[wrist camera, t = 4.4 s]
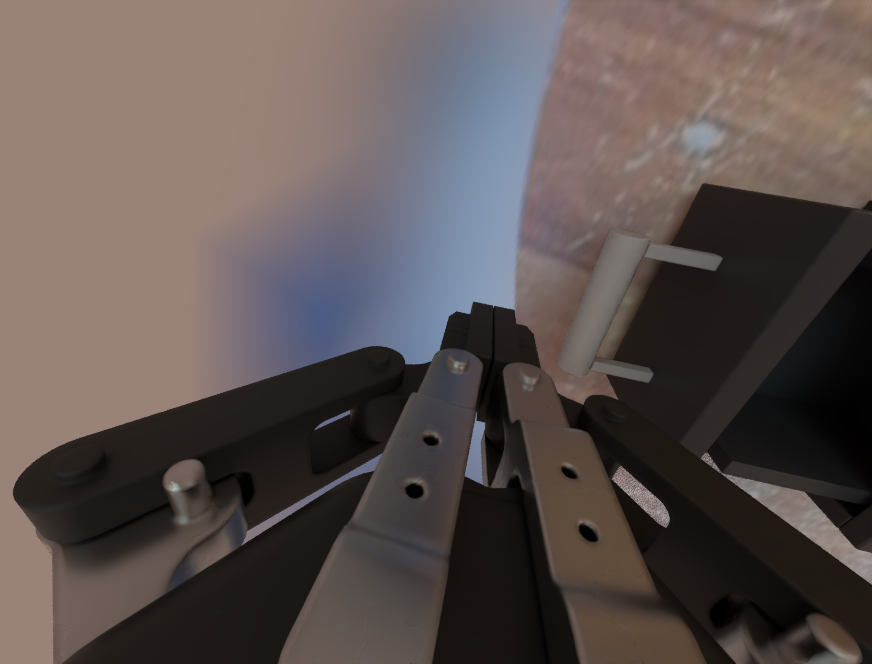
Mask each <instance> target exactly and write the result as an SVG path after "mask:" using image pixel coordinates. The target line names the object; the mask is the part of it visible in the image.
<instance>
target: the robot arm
mask: <svg viewBox="0 0 872 664" xmlns="http://www.w3.org/2000/svg"><path fill="white" fill-rule="evenodd" d="M536 349H537V348H536V344H535V339H534V334H533V333H532V332H531V331H530V330H529V328H528V327H527V326H524V325H519V324H516V318H515V310H512V309H507V308H502V307H497V306H494V308H493V306H492V305H487V304H482V303H478V302H473V304H472V309H471V313H470V314H466V313H461V312H455V313H454V314H452V315H451V316H449V319H448V322H447V326H446V329H445V333H444V337H443V340H442V344H441V347H440V351H438V352H437V353H436V354H435V355H434V357H433V359H432V361H431V362H428V363H425V364H415V365H413V364H411V365H410V364H409V365H408V364H405V360H404V358H403V356H402V355H401V354H400V353H399V352H397V351H395V350H393V349H391V348H387V347H382V346H371V347H366V348H362V349H359V350H356V351H353V352H350V353H346V354H344V355H340V356H337V357H334V358H331V359H328V360H324V361H321V362H318V363H315V364H312V365H309V366H306V367H303V368H299V369H296V370H293V371H290V372H287V373H283V374H281V375H277V376H274V377H271V378H268V379H264V380H261V381H259V382H255V383H252V384H249V385H246V386H242V387H239V388H236V389H233V390H230V391H227V392H223V393H220V394H217V395H214V396H211V397H208V398H205V399H201V400H198V401H195V402H192V403H189V404H186V405H182V406H180V407H176V408H173V409H170V410H167V411H164V412H161V413H157V414H154V415H151V416H148V417H145V418H142V419H138V420H135V421H132V422H129V423H126V424H123V425H119V426H116V427H113V428H110V429H107V430H104V431H101V432H98V433H94V434H91V435H88V436H85V437H82V438H79V439H76V440H73V441H70V442H68V443H66V444H63V445H61V446H59V447H57V448H55V449H53V450H51V451H50V452H48V453H46V454H45V455H43V456H41V457H40V458H39V459H37V460H36V461H35V462H33V463H32V464H31V465H30V466H29V467H28V468H26V469H25V471H24V472H23V473H22V474H21V475H20V477H19V478H18V480H17V481H16V483H15V486H14V489H13V496H14V499H15V501H16V502H17V503H18V505H19V506H20V508H21V509H22V510H23V511H24V513H25V514H26V515H27V517H28V518H29V519H30V521H31V522H32V523H33V525H34V526H35V527H36V533H37V537H38V538H39V539H40V540H41V542H42V543H43V544H44V546H45V547H46V548H47V549H48V551H49V552H50V553H51V555H52V563H53V656H54V657H53V658H54V659H53V660H54V664H872V585H871V584H870V583H869V582H867V581H866V580H865V579H863V578H862V577H860V576H859V575H858V574H856V573H855V572H854V571H852V570H851V569H850V568H848V567H847V566H845V565H844V564H843V563H841V562H840V561H839V560H837V559H836V558H835V557H833V556H832V555H831V554H829V553H828V552H826V551H825V550H824V549H822V548H821V547H820V546H818V545H817V544H816V543H814V542H813V541H812V540H810V539H809V538H807V537H806V536H805V535H803V534H802V533H801V532H799V531H798V530H797V529H795V528H794V527H792V526H791V525H790V524H788V523H787V522H786V521H784V520H783V519H782V518H780V517H779V516H778V515H776V514H775V513H773V512H772V511H771V510H769V509H768V508H767V507H765V506H764V505H763V504H761V503H760V502H758V501H757V500H756V499H754V498H753V497H752V496H750V495H749V494H748V493H746V492H745V491H744V490H742V489H741V488H739V487H738V486H737V485H735V484H734V483H733V482H731V481H730V480H729V479H727V478H726V477H724V476H723V475H722V474H720V473H719V472H718V471H716V470H715V469H714V468H712V467H711V466H710V465H708V464H707V463H705V462H704V461H703V460H701V459H700V458H699V457H697V456H696V455H695V454H693V453H692V452H691V451H689V450H688V449H686V448H685V447H684V446H682V445H681V444H680V443H678V442H677V441H676V440H674V439H673V438H671V437H670V436H669V435H667V434H666V433H665V432H663V431H662V430H661V429H659V428H658V427H657V426H655V425H654V424H652V423H651V422H650V421H648V420H647V419H646V418H644V417H643V416H642V415H640V414H639V413H637V412H636V411H635V410H633V409H632V408H631V407H629V406H628V405H626V404H625V403H623V402H621V401H619V400H617V399H615V398H612V397H609V396H605V395H592V396H589V397H588V398H587V399H586V400H585V402H584V404H583V405H582V404H580V403H578V402H575V401H573V400H571V399H568V398H566V397H564V396H562V395H560V394H558V393H557V390H556V388H555V385H554V382H553V380H552V378H551V377H550V376H549V375H548V374H547V373H546V372H545V371H543V370H541V368H540V363H539V358H538V353H537V351H536ZM349 410H350V414H349V415H347V416H345V417H343V418H341V419H338V420H336V421H334V422H332V423H329V424H327V425H325V426H323V427H321V428H318V429H317V430H314V429H315V428H316V427H317V426H318V425H319V424H321V423H322V422H324V421H326V420H328V419H330V418H333V417H335V416H337V415H339V414H342V413H344V412H346V411H349ZM476 413H477V421H481V422H485V430H484V434H483V437H482V440H481V455H482V476H483V485H482V484H480V483H477V482H475V481H473V480H471V479H469V478H467V477H465V471H466V465H467V460H468V455H469V449H470V444H471V438H472V433H473V428H474V422H475V417H476ZM382 453H383V454H382ZM380 454H382V456H381V458H380V460H379V462H378V464H377V466H376V469H375V470H374V471H372V472H368V473H364V474H361V475H358V476H355V477H353V478H350V479H348V480H346V481H344V482H342V483H340V484H339V485H337V486H335V487H334V488H332V489H331V490H329V491H327V492H326V493H324V494H323V495H321V496H319V497H318V498H316V499H315V500H313V501H311V502H310V503H308V504H307V505H305V506H304V507H302V508H300V509H299V510H297V511H296V512H294V513H292V514H291V515H289V516H288V517H286V518H285V519H283V520H281V521H280V522H278V523H277V524H275V525H273V526H272V527H270V528H269V529H267V530H265V531H264V532H262V533H261V534H259V535H258V536H256V537H255V538H253V539H251V540H250V541H248V542H246V543H245V544H244V545H242V543H243V541H244V539H245V537H246V533H247V531H248V530H250V529H252V528H253V527H255V526H257V525H259V524H260V523H262V522H264V521H265V520H267V519H269V518H271V517H272V516H274V515H276V514H278V513H279V512H281V511H283V510H284V509H286V508H288V507H290V506H291V505H293V504H295V503H297V502H298V501H300V500H302V499H304V498H305V497H307V496H309V495H311V494H312V493H314V492H316V491H317V490H319V489H321V488H323V487H324V486H326V485H328V484H330V483H331V482H333V481H335V480H337V479H338V478H340V477H342V476H343V475H345V474H347V473H349V472H350V471H352V470H354V469H356V468H357V467H359V466H361V465H363V464H364V463H366V462H368V461H369V460H371V459H373V458H375V457H376V456H378V455H380ZM620 465H621V466H622V467H623V468H624V469H625V470H626V471H628V472H629V473H630V474H631V475H632V476H633V477H634V478H635V479H637V480H638V481H639V482H640V483H641V484H642V485H643V486H644V487H645V488H647V489H648V490H649V491H650V492H651V493H652V494H653V495H654V496H656V497H657V498H658V499H659V500H660V501H661V502H662V503H663V504H664V506H665V507H666V509H667V511H668V513H669V517H670V522H669V525H668V526H667V528H665V527H663V526H661V525H660V524H658V523H657V522H656V521H655V520H654V519H653V518H652V517H651V516H650V515H649V514H648V513H646V512H645V511H644V510H643V509H642V508H641V507H640V506H639V505H638V504H637V503H636V502H635V501H634V500H633V499H632V498H631V497H630V496H629V495H628V494H626V493H625V492H624V491H623V490H622V489H621V488H620V487H619V486H618V485H617V484H616V483H615V482H614V481H613V480H612V478H613V476H614V474H615V473H616V471H617V470H618V468H619V467H620ZM241 545H242V546H241Z"/></svg>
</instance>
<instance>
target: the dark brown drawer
mask: <svg viewBox="0 0 872 664" xmlns="http://www.w3.org/2000/svg"><path fill="white" fill-rule="evenodd" d="M642 257H645V258H650V259H655V260H660V261H663V262H662V264H661V266H660V268H659V270H658V272H657V274H656V276H655V278H654V280H653V282H652V284H651V286H650V288H649V290H648V292H647V294H646V296H645V298H644V300H643V302H642V304H641V306H640V308H639V310H638V311H637V313H636V315H635V317H634V319H633V321H632V323H631V325H630V327H629V329H628V331H627V333H626V335H625V337H624V339H623V341H622V343H621V345H620V347H619V349H618V351H617V353H616V355H615V357H614V359H613V360H610V359H605V358H600V357H596V354H597V352H598V349H599V347H600V345H601V343H602V341H603V339H604V337H605V335H606V333H607V330H608V328H609V326H610V324H611V322H612V320H613V318H614V316H615V314H616V311H617V309H618V307H619V305H620V303H621V301H622V299H623V297H624V295H625V292H626V290H627V288H628V286H629V284H630V282H631V280H632V278H633V276H634V273H635V271H636V269H637V267H638V265H639V263H640V261H641V259H642ZM556 363H557V366H558V367H559V368H560V369H561V370H562V371H564V372H566V373H568V374H570V375H574V376H584V375H586V374H587V373H588V370H589V369H590V370H591V371H595V372H600V373H605V374H606V375H607V377H608V379H609V381H610V383H611V385H612V387H613V390H614V392H615V394H616V396H617V398H618V400H619V401H621V402H623V403H625V404H626V405H628V406H629V407H631V408H632V409H633V410H635V411H636V412H637V413H639V414H640V415H642V416H643V417H644V418H646V419H647V420H648V421H650V422H651V423H652V424H654V425H655V426H657V427H658V428H659V429H661V430H662V431H663V432H665V433H666V434H667V435H669V436H670V437H671V438H673V439H674V440H676V441H677V442H678V443H680V444H681V445H682V446H684V447H685V448H686V449H688V450H689V451H691V452H692V453H693V454H695V455H696V456H697V457H699V458H700V459H701V457H702V456H703V455H704V454H705V453H706V451H707V452H708V454H709V455H710V457H711V458H712V460H713V461H714V462H715V464H716V465H717V467H718V468H719V470H720V471H721V472H722V473H724V474H728V475H733V476H737V477H741V478H746V479H750V480H755V481H759V482H764V483H768V484H772V485H777V486H781V487H786V488H790V489H795V490H799V491H803V492H808V493H812V494H817V495H821V496H826V497H830V498H834V499H839V500H843V501H848V502H852V503H857V504H861V505H865V506H870V505H871V504H872V211H866V210H861V209H855V208H849V207H843V206H837V205H831V204H825V203H819V202H813V201H807V200H801V199H795V198H789V197H783V196H777V195H771V194H765V193H759V192H753V191H747V190H741V189H735V188H729V187H723V186H717V185H711V184H702V186H701V188H700V190H699V192H698V194H697V196H696V198H695V199H694V201H693V203H692V205H691V207H690V209H689V211H688V213H687V215H686V217H685V219H684V221H683V223H682V225H681V227H680V229H679V231H678V233H677V235H676V237H675V239H674V241H673V243H672V245H665V244H660V243H655V242H650V238H649V237H647V236H645V235H642V234H639V233H636V232H632V231H627V230H622V229H610V231H609V233H608V236H607V238H606V241H605V243H604V246H603V248H602V250H601V253H600V255H599V258H598V260H597V263H596V265H595V268H594V270H593V273H592V275H591V277H590V280H589V282H588V285H587V287H586V290H585V292H584V295H583V297H582V300H581V302H580V304H579V307H578V309H577V312H576V314H575V317H574V319H573V322H572V324H571V327H570V329H569V331H568V334H567V336H566V339H565V341H564V344H563V346H562V349H561V351H560V353H559V356H558V358H557V361H556Z"/></svg>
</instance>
